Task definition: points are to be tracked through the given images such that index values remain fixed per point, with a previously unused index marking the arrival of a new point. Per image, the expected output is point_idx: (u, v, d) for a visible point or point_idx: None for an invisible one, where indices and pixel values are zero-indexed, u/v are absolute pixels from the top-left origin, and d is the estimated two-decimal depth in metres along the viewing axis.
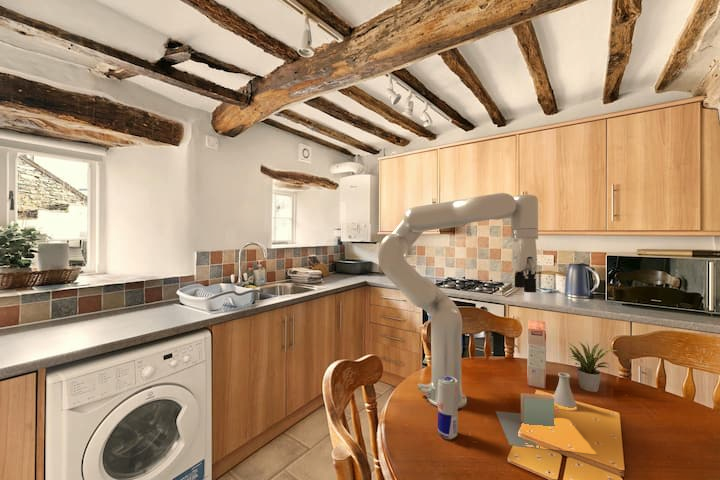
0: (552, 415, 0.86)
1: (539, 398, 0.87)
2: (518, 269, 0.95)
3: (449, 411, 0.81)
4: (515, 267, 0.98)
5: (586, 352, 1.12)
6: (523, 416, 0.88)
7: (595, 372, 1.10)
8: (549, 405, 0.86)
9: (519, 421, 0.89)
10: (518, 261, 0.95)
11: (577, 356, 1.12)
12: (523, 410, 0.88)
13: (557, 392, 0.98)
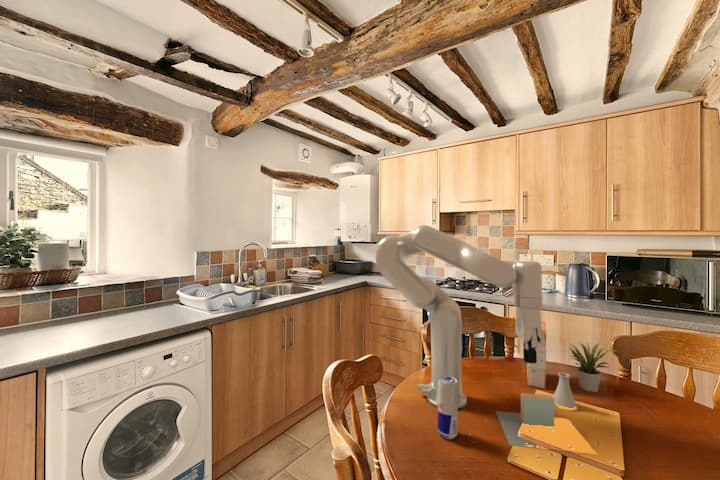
0: (552, 415, 0.86)
1: (539, 398, 0.87)
2: (523, 339, 0.92)
3: (449, 411, 0.81)
4: (519, 335, 0.95)
5: (586, 352, 1.12)
6: (523, 416, 0.88)
7: (595, 372, 1.10)
8: (549, 405, 0.86)
9: (519, 421, 0.89)
10: (522, 331, 0.92)
11: (577, 356, 1.12)
12: (523, 410, 0.88)
13: (557, 392, 0.98)
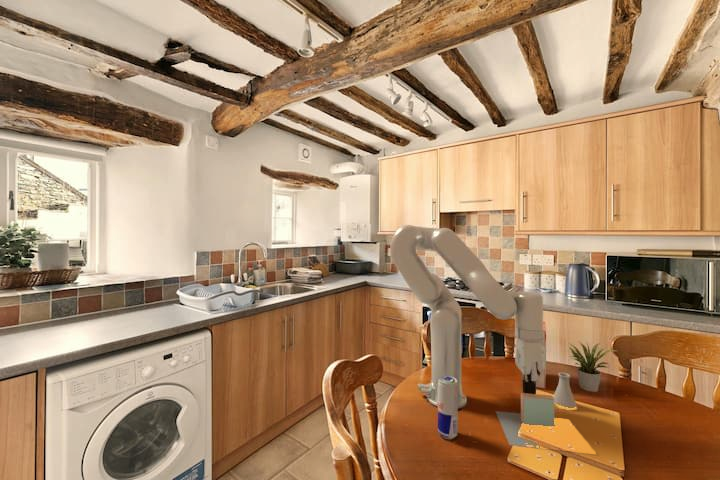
0: (552, 415, 0.86)
1: (539, 398, 0.87)
2: (522, 372, 0.92)
3: (449, 411, 0.81)
4: (519, 367, 0.95)
5: (586, 352, 1.12)
6: (523, 416, 0.88)
7: (595, 372, 1.10)
8: (549, 405, 0.86)
9: (519, 421, 0.89)
10: (522, 363, 0.92)
11: (577, 356, 1.12)
12: (523, 410, 0.88)
13: (557, 392, 0.98)
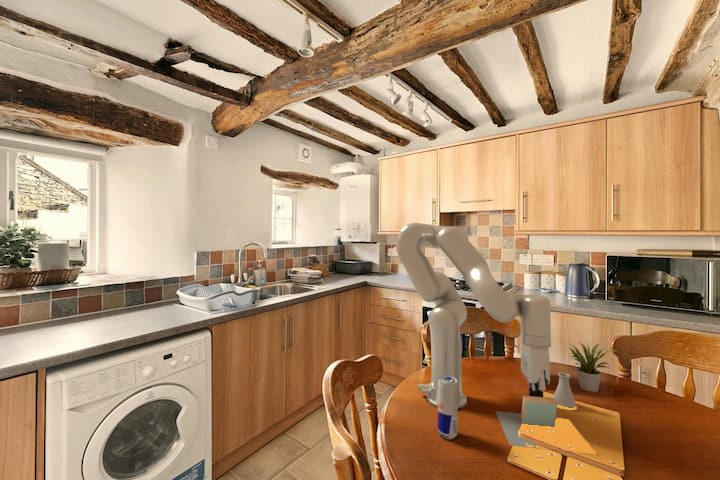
0: (553, 418, 0.85)
1: (542, 403, 0.85)
2: (529, 380, 0.86)
3: (449, 411, 0.81)
4: (525, 374, 0.89)
5: (586, 352, 1.12)
6: (524, 417, 0.87)
7: (595, 372, 1.10)
8: (551, 409, 0.84)
9: (519, 421, 0.89)
10: (529, 371, 0.86)
11: (577, 356, 1.12)
12: (524, 412, 0.87)
13: (557, 392, 0.98)
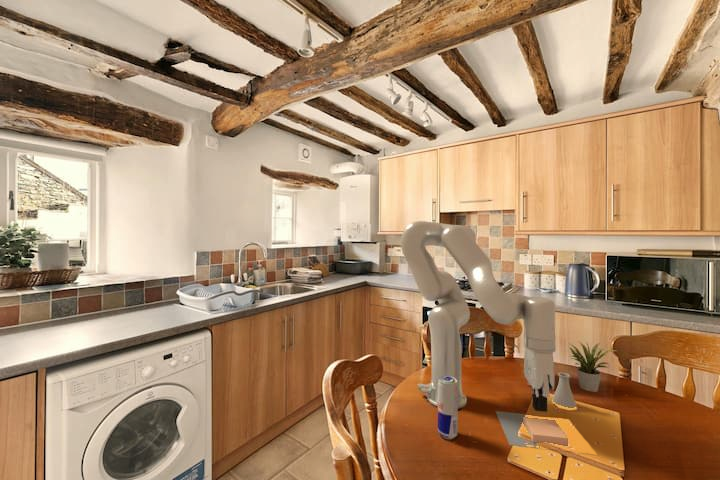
0: None
1: None
2: (533, 386, 0.83)
3: (449, 411, 0.81)
4: (529, 380, 0.86)
5: (586, 352, 1.12)
6: None
7: (595, 372, 1.10)
8: None
9: (519, 421, 0.89)
10: (533, 376, 0.83)
11: (577, 356, 1.12)
12: (528, 432, 0.83)
13: (557, 392, 0.98)
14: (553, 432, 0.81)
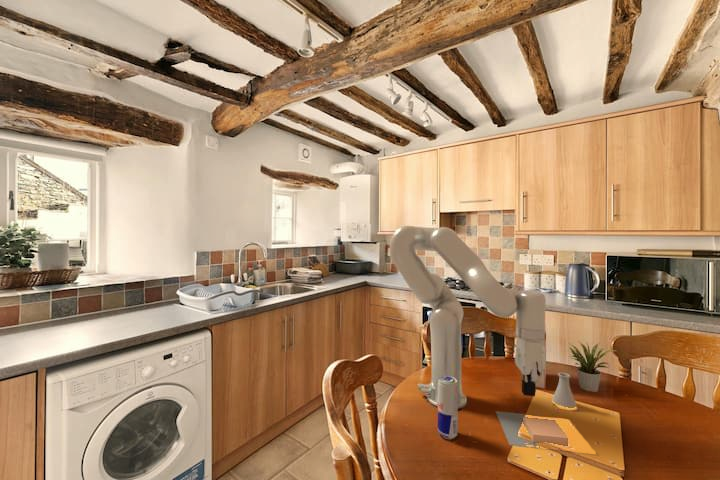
0: None
1: None
2: (522, 372, 0.90)
3: (449, 411, 0.81)
4: (519, 366, 0.93)
5: (586, 352, 1.12)
6: None
7: (595, 372, 1.10)
8: None
9: (519, 421, 0.89)
10: (522, 363, 0.90)
11: (577, 356, 1.12)
12: (528, 432, 0.83)
13: (557, 392, 0.98)
14: (553, 432, 0.81)
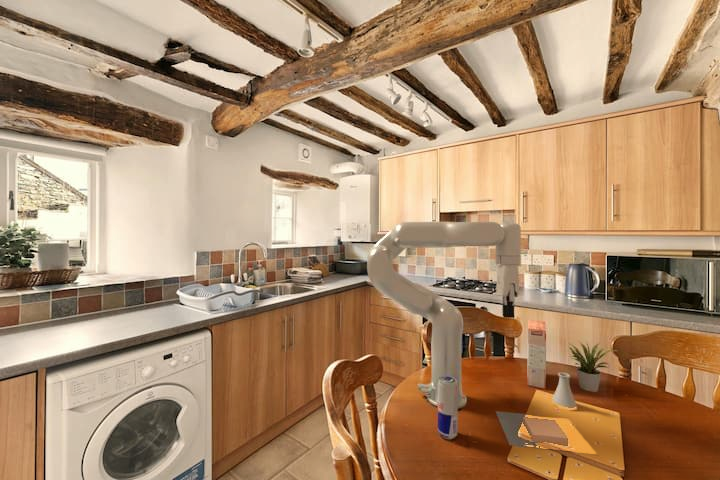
0: None
1: None
2: (501, 294, 0.99)
3: (449, 411, 0.81)
4: (499, 292, 1.02)
5: (586, 352, 1.12)
6: None
7: (595, 372, 1.10)
8: None
9: (519, 421, 0.89)
10: (501, 287, 1.00)
11: (577, 356, 1.12)
12: (528, 432, 0.83)
13: (557, 392, 0.98)
14: (553, 432, 0.81)
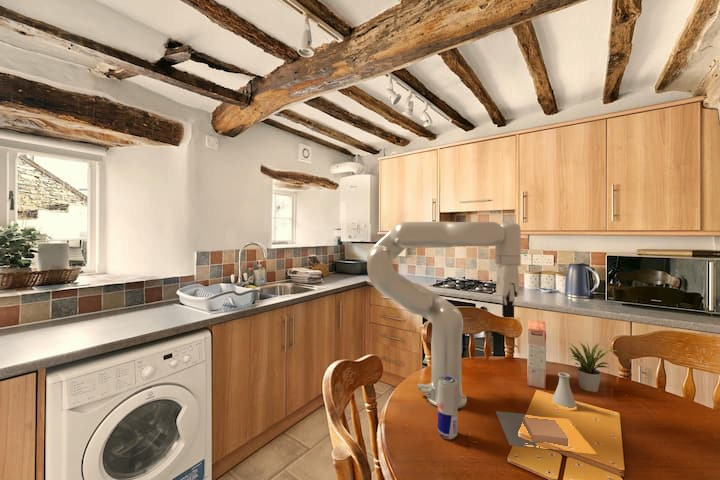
0: None
1: None
2: (501, 294, 1.00)
3: (449, 411, 0.81)
4: (499, 292, 1.02)
5: (586, 352, 1.12)
6: None
7: (595, 372, 1.10)
8: None
9: (519, 421, 0.89)
10: (501, 287, 1.00)
11: (577, 356, 1.12)
12: (528, 432, 0.83)
13: (557, 392, 0.98)
14: (553, 432, 0.81)
